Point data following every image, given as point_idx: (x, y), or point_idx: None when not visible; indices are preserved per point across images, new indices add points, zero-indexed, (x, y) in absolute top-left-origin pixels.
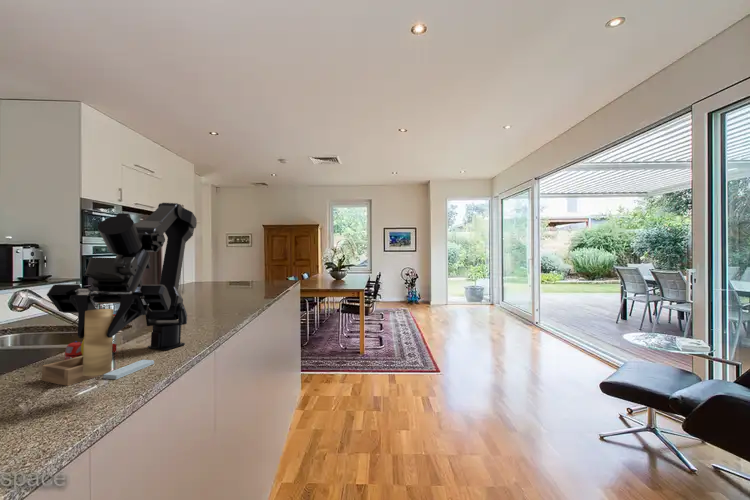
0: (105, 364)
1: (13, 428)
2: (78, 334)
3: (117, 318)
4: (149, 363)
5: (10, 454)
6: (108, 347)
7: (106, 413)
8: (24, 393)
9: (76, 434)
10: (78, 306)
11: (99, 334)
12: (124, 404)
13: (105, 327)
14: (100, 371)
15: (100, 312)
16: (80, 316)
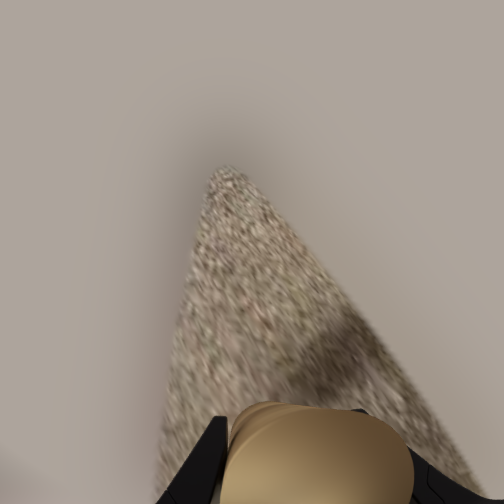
0: (236, 420)
1: (334, 293)
2: (359, 409)
3: (187, 485)
4: None
5: (271, 209)
6: (231, 436)
7: (193, 331)
8: (430, 452)
9: (207, 250)
10: (486, 501)
11: (260, 413)
12: (174, 373)
13: (240, 434)
14: (245, 409)
15: (275, 427)
16: (426, 471)
